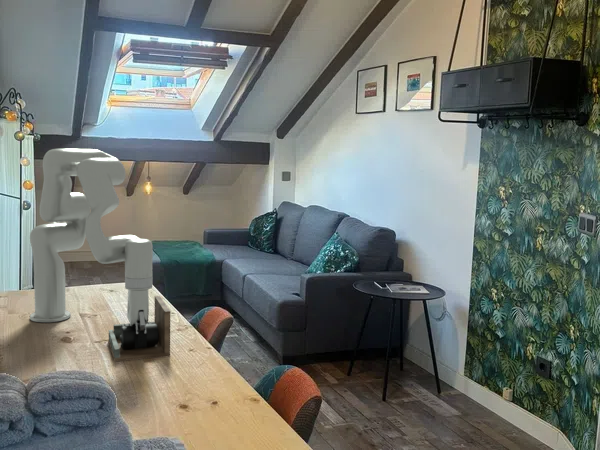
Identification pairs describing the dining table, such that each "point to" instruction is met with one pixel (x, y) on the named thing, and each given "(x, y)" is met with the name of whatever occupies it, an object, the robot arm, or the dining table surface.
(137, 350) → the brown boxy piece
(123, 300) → the dining table surface
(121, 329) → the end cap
